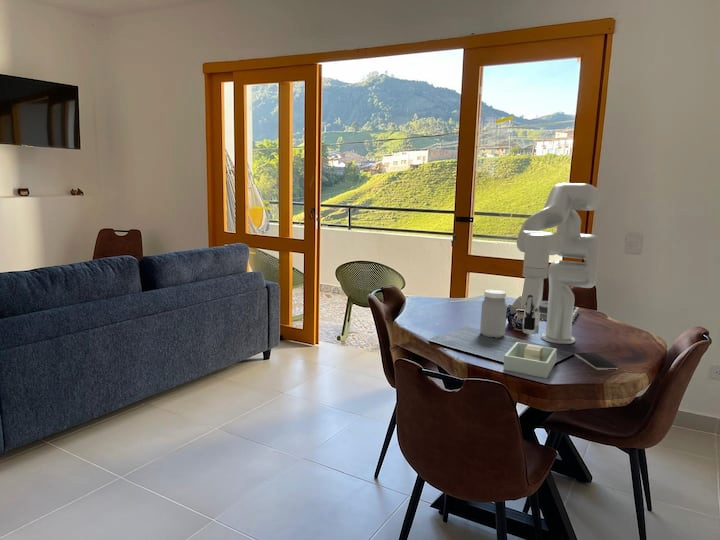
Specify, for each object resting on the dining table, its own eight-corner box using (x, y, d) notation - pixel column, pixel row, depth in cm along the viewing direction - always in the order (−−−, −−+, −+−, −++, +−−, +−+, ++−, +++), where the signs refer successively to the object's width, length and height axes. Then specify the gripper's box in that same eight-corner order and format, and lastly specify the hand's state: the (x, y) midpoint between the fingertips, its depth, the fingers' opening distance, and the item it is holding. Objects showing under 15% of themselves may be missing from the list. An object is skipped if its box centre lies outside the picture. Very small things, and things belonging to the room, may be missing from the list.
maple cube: (526, 358, 183) (528, 344, 182) (541, 361, 180) (542, 347, 179) (523, 362, 178) (524, 348, 178) (538, 365, 176) (539, 351, 175)
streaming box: (567, 312, 253) (568, 302, 252) (572, 320, 239) (573, 309, 238) (536, 310, 256) (537, 300, 255) (539, 317, 242) (540, 306, 242)
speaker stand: (529, 307, 262) (529, 301, 262) (578, 313, 251) (578, 307, 251) (518, 316, 242) (519, 310, 242) (571, 324, 231) (572, 317, 231)
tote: (515, 355, 187) (516, 341, 186) (555, 362, 180) (556, 348, 180) (503, 370, 172) (504, 355, 171) (546, 378, 165) (547, 363, 164)
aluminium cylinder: (524, 328, 173) (525, 308, 172) (539, 331, 171) (541, 310, 170) (520, 332, 169) (522, 311, 168) (536, 334, 167) (538, 313, 165)
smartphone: (596, 367, 174) (574, 352, 189) (596, 371, 174) (573, 356, 189) (619, 367, 175) (595, 352, 190) (619, 371, 175) (594, 355, 190)
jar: (505, 339, 206) (508, 294, 203) (480, 337, 208) (483, 293, 205) (503, 332, 216) (507, 289, 213) (479, 330, 218) (482, 288, 215)
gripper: (528, 267, 176) (524, 320, 179) (517, 274, 161) (512, 331, 164) (552, 270, 172) (547, 323, 175) (542, 277, 158) (537, 335, 160)
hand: (530, 326), depth 170 cm, fingers closed on aluminium cylinder, 5 cm apart
